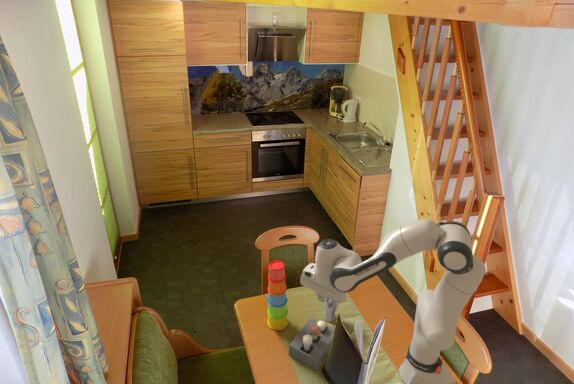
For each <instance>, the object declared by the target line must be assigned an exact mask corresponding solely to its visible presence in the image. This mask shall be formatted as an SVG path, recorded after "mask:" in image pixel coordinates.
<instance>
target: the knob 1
mask: <svg viewBox="0 0 574 384" xmlns="http://www.w3.org/2000/svg"><path fill="white" fill-rule="evenodd" d="M312 339H313V338H312V336H311V335H304V336H303V344H304V350H305V351H309V350H310V345H311V344H312Z"/></svg>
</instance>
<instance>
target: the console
mask: <svg viewBox="0 0 574 384" xmlns="http://www.w3.org/2000/svg"><path fill="white" fill-rule="evenodd" d="M307 320H308V321H307V322H306V323H305V325H304V326H303V327H302V328H301V329H300V331H299V332H298V333H297V334H296V336H295V337H294V339H292V341H291V342H290V344H289V346H288V355H289V356H290V357H292V358H293V359H296V360H297V361H299V362H300V363H303V364H304V365H306V366H308V367H310V368H312V369H313V370H315V371H318V369H319V368H320V367H321V365H322V364H323V362H324V360H325V359H326V357H327V356H328V354H329V353H330V351H329V349H330V346H331V343H332V340H333V334H334V330H336V329H335V328H332V327H331V326H329V325H327V324H326V329H325V330H324V334H322V333H320V332H319V334H318V337H317V340H316V341H312V344H311V345H310V350H309V351H305V350H304V344H303V336H304V335H311V333H310V329H311V326H312V325H317V322H318V321H319V320H317V319H314V318H313V317H309V319H307ZM328 352H329V353H328Z"/></svg>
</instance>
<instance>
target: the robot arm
mask: <svg viewBox="0 0 574 384" xmlns="http://www.w3.org/2000/svg"><path fill="white" fill-rule="evenodd" d="M424 251H437V253H436V256H437V259H438V260H437V261H438V262H439V264H440V265H441V266H442V267H443V268H444V269H445V270H446V271H445V273H444V274H443V275H442V277H441V279H440V280H439V282H438V284H436V286H435V288H434V289H424V290H422V291H421V292H419V293H418V294H417V298H416V309H415V316H414V325H413V335H412V339H411V342H410V344H409V345H408V348H407V351H406V354H405V359H404V360H403V362H402V363H401V365H400V366H399V367H398V368H399V369H398V373H399V377H400V379H401V380H403V381H402V382H403V383H404V384H456V381H455V379H454V377H452V376H453V375H452V373H451V371H450V370H449V368H448V367H446V366H445V365H444V364H443V359H444V356H441V357H440V353H441V351H447V350H449V349H450V348H452V347H453V345H454V343H455V339H456V338H455V337H456V336H455V335H456V331H457V327H458V323H459V320H460V318H461V316H462V313H463V310H464V308H465V307H466V305H467V303H468V302H469V301H470V299H471V298H472V296H473V295H474V293H475V292H476V291H477V289H478V287H479V286H480V284H481V282H482V280H483V278H484V275H485V273H486V266H485V265H486V264H485V263H484V262H483V260H482V259H480V258H479V257H478V256H476V255H474V254H473V242H472V239H471V233H470V231H469V229H468V227H467V226H466V225H465V224H463V223H462V222H459V221H441V222H438V223H436V221H434V220H433V219H430V218H421V219H418V220H413V221H410V222H408V223H404V224H403V225H399V226H398V227H395V228H393V229H391V231H389V232H388V233H386V235H384V238H383V240H382V242H381V243H380V245H379V247H378V248H377V250H376V251H375V252H374V253H373V255H372V256H371V257H369V258H368V259H365V260H364V261H363V260H362V257H361V256H360V254H359V253H357V252H356V251H354V250H351V249H348V248H345V247H343V246H342V245H340V243H339V242H338V241H336V240H335V239H329V238H328V239H323V240H322V241H320V242H319V243H318V245H317V248H316V250H315V257H314V258H315V260H314V262H315V263H314V262H310V263H308V265H306V266H305V268H304V269H303V270H302V274H300V279H299V280H300V281H299V283H300V285H301V286H302V287H306V288H307V289H309V290H311V291H313V292H315V295H316V296H317V300H318V301H320V302H322V303H324V302H325V300H326V298H327V297H328V298H330V299H332V300H334V301H336V302H338V303H339V304H342V303H344V302H346V299H347V293H351V292H353V291H354V290H355V289H356V288H357V287H358V286H359V285H361V284H362V283H364V282H365V281H366V282H367V281H368V280H370V279H372V278H374V277H376V276H378V275H380V274H382V273H384V272H386V271H387V270H390V269H391V268H392V267H394V266H395V265H397V264H398V263H400V262H402V261H404V260H406V259H408V258H410V257H412V256H414V255H417V254H420V253H422V252H424Z"/></svg>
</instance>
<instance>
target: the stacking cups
mask: <svg viewBox="0 0 574 384" xmlns="http://www.w3.org/2000/svg"><path fill="white" fill-rule="evenodd" d="M285 268H286V267H285V264H284V262H283V261H281V260H273V261H271V262H270V263H269V265H268V276H267V279H268V285H267V292H268V296H267V297H268V298H267V300H266V301H267V303H268V304H267V305H268V308H267V310H266V312H267V313H266V314H267V315H268V317H267V321H266V323H267V326H268V328H270V329H271V330H273V331H281V330H284V329H286V328H287V327H288V326H289V323H290V321H289V318H288V313H289V309H288V307H287V303H288V297H287V285H286V279H287V275H286V272H285V271H286V269H285Z"/></svg>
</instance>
